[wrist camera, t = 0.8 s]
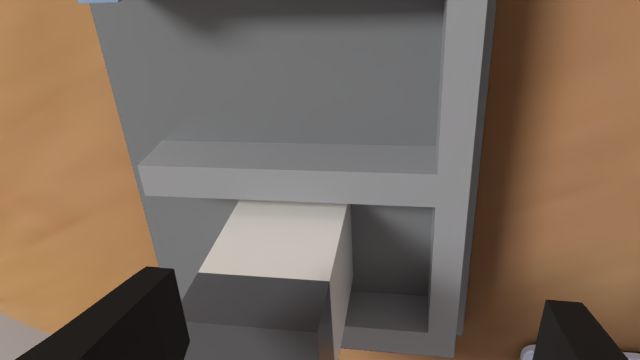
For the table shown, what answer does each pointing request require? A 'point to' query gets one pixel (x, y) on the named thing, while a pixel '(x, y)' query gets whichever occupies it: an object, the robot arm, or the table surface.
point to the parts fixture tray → (314, 137)
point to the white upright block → (273, 284)
